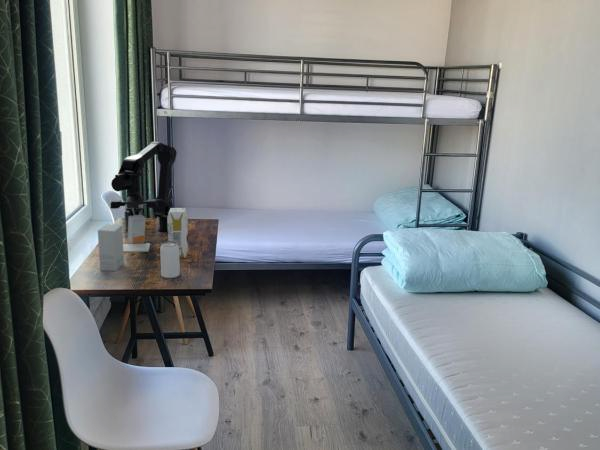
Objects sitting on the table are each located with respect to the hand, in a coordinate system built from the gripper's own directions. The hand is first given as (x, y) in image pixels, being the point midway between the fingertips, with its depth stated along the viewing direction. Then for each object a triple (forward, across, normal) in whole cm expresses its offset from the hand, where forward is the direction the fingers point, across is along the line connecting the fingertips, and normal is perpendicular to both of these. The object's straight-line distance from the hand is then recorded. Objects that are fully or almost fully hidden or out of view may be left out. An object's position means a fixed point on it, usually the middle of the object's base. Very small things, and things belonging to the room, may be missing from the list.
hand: (135, 223), depth 219 cm
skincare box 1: (+9, -6, -34) cm, 35 cm away
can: (+9, +15, -46) cm, 49 cm away
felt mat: (+8, 0, -11) cm, 14 cm away
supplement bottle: (+8, -3, +20) cm, 22 cm away
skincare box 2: (+8, 0, -2) cm, 8 cm away
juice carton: (+8, +18, -23) cm, 30 cm away
